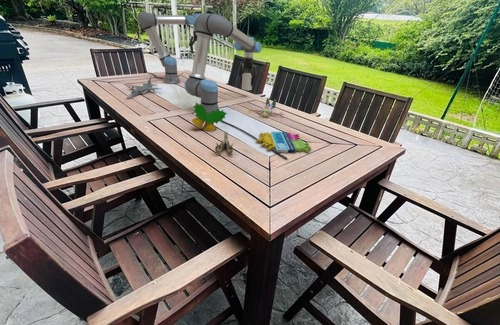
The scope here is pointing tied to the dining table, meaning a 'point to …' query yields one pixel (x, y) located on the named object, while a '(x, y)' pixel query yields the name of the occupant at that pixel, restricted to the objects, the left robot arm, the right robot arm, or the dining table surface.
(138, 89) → the airplane
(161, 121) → the dining table surface
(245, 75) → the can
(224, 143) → the jawbone
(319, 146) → the dining table surface
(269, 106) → the toy
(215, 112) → the ornament
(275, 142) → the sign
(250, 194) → the dining table surface
